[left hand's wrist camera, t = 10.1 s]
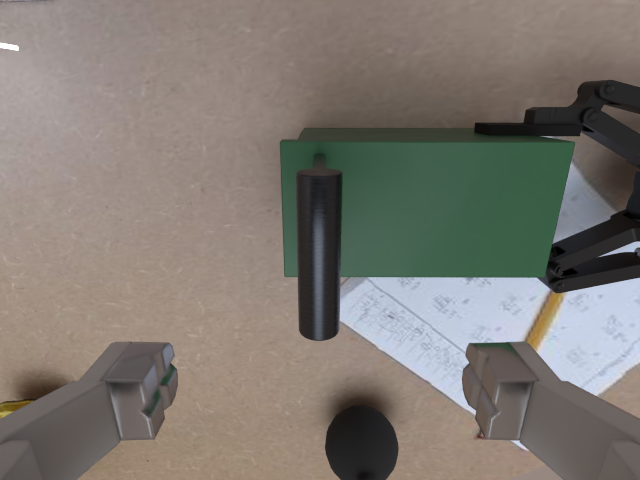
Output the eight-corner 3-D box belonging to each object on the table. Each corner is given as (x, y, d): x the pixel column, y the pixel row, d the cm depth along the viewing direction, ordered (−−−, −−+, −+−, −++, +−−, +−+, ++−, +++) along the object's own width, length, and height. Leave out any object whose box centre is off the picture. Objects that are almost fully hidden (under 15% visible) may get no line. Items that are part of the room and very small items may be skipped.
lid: (285, 269, 27) (269, 351, 18) (281, 139, 24) (259, 161, 15) (535, 270, 27) (638, 352, 18) (563, 139, 24) (704, 163, 15)
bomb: (403, 403, 45) (431, 506, 33) (371, 449, 47) (387, 559, 36) (343, 380, 43) (351, 479, 32) (314, 428, 46) (312, 535, 35)
